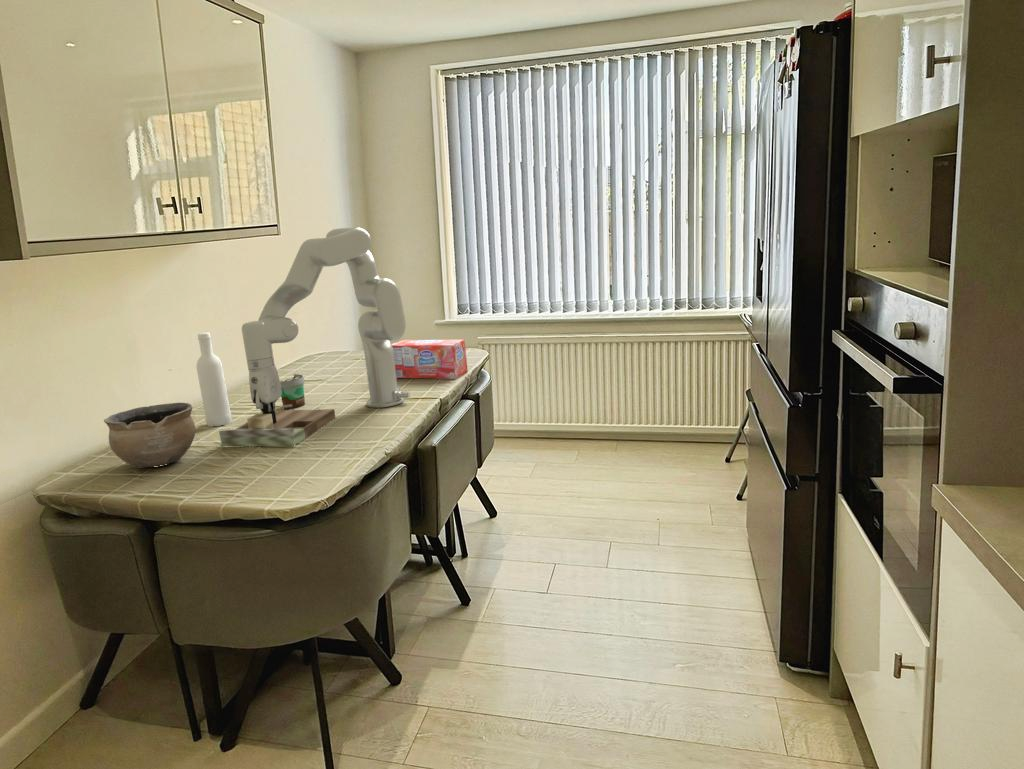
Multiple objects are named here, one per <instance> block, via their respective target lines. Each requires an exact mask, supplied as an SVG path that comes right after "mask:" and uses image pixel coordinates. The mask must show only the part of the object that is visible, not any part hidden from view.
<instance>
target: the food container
mask: <svg viewBox="0 0 1024 769" xmlns="http://www.w3.org/2000/svg"><path fill="white" fill-rule="evenodd" d="M305 382H306V379H305V376H304V375H303V374H296V373H295V374H293V377H291V378H287V379H285V380H284V381H280V384H281V389H282V396H281V397H280V398H281V402H282V407H283V411H284V410H285V409H286V410H295V409H298V408H302V407H303V406H305V405H306V401H305V388H304V384H305Z"/></svg>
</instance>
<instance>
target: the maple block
mask: <svg viewBox="0 0 1024 769" xmlns="http://www.w3.org/2000/svg"><path fill="white" fill-rule="evenodd" d="M246 423H248V428H249V429H274V426H273V419H272V414H263V413H255V414H254V415H252V416H250V417H248V418H246Z"/></svg>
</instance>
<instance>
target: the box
mask: <svg viewBox="0 0 1024 769" xmlns="http://www.w3.org/2000/svg"><path fill="white" fill-rule="evenodd" d="M391 344H392V347H393V352H394V361H395V370H396V378H397V379H398V378H443V379H442V380H457V379H458V378H460V377H461V376H463V375H464V374H467V373H468V372H469V371H468V370H469V369H468V360H467V351H466V350H467V347H466V339H403V340H400V341H398V342H397V341H396V342H394V343H391Z"/></svg>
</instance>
